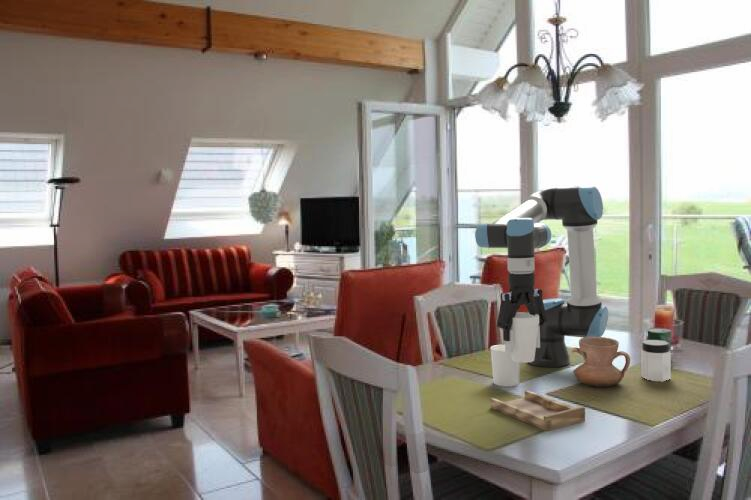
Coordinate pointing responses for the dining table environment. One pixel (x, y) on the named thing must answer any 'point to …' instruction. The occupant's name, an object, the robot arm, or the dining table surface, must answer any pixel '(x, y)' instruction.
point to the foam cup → (524, 337)
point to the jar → (655, 360)
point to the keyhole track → (540, 411)
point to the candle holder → (504, 367)
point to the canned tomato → (660, 335)
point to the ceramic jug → (599, 362)
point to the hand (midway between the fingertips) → (522, 349)
